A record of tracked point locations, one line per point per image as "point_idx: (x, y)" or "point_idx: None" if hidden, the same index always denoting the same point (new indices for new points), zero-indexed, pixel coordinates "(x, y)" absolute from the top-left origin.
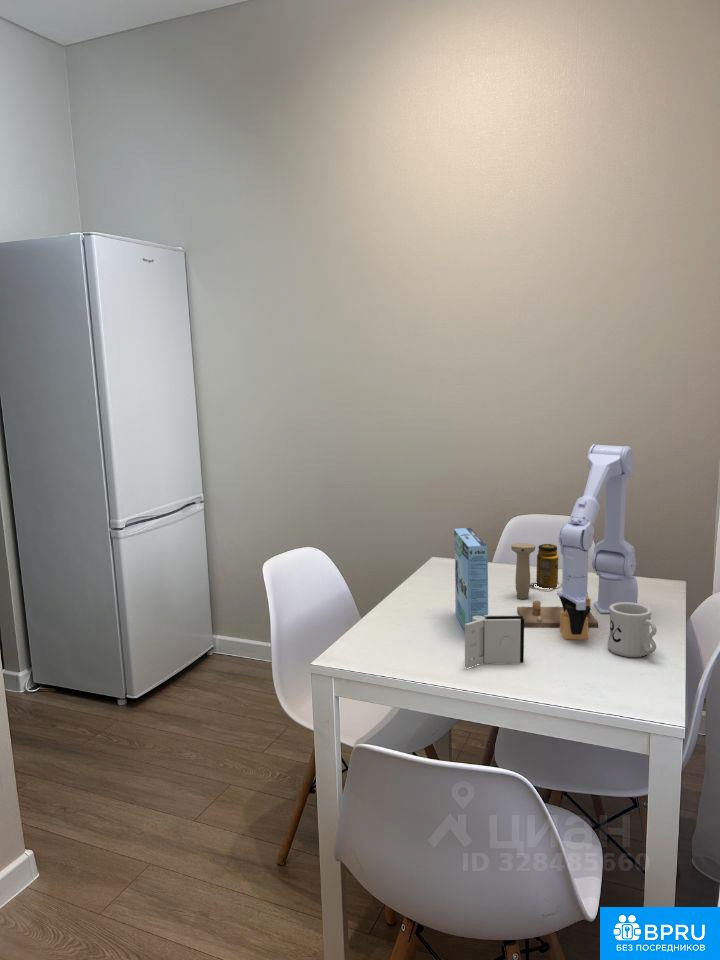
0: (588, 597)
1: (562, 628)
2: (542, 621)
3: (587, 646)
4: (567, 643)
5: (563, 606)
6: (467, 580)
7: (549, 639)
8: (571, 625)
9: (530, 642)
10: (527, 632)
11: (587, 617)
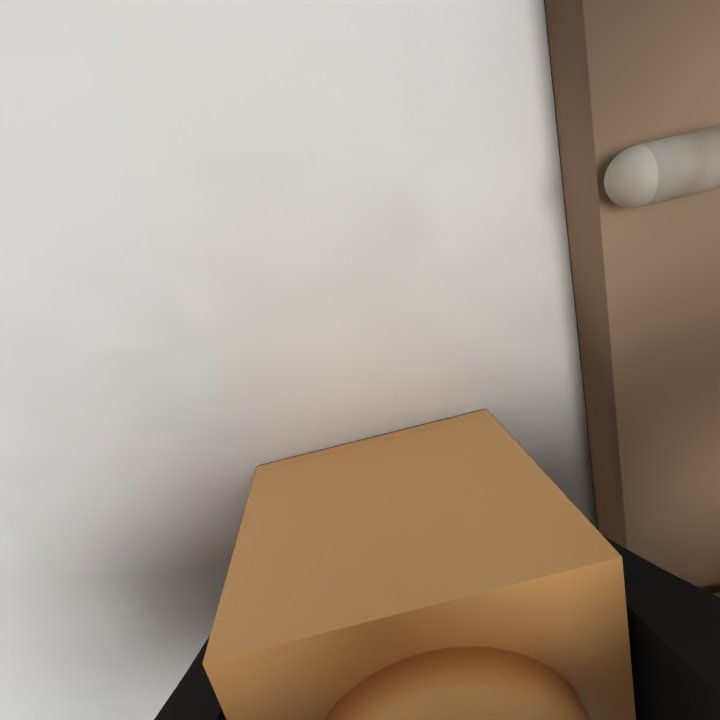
0: None
1: (362, 481)
2: (647, 211)
3: (137, 657)
4: (147, 501)
5: (704, 684)
6: None
7: (199, 321)
8: (187, 672)
9: (6, 94)
10: (362, 28)
11: None
